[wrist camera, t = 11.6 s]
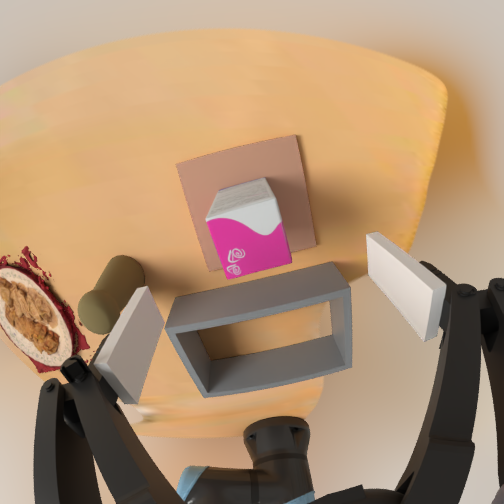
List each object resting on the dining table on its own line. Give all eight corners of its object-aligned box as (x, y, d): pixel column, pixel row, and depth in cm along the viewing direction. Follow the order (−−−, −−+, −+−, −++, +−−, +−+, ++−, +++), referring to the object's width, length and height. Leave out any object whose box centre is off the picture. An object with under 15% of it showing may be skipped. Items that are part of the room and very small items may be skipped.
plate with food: (42, 367, 44) (36, 377, 41) (-21, 273, 34) (-30, 281, 30) (110, 356, 43) (104, 369, 39) (31, 231, 32) (19, 239, 29)
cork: (126, 247, 33) (89, 288, 23) (153, 281, 35) (127, 331, 25) (99, 268, 34) (61, 311, 24) (125, 300, 36) (96, 348, 26)
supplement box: (215, 190, 31) (203, 216, 20) (265, 176, 30) (280, 194, 20) (230, 235, 33) (227, 282, 22) (278, 222, 32) (297, 263, 22)
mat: (315, 244, 34) (316, 246, 34) (209, 269, 35) (209, 271, 34) (294, 134, 29) (295, 134, 28) (176, 163, 30) (175, 164, 29)
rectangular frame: (338, 337, 41) (351, 367, 34) (207, 365, 42) (203, 397, 35) (332, 261, 35) (350, 287, 29) (175, 297, 36) (164, 328, 30)
